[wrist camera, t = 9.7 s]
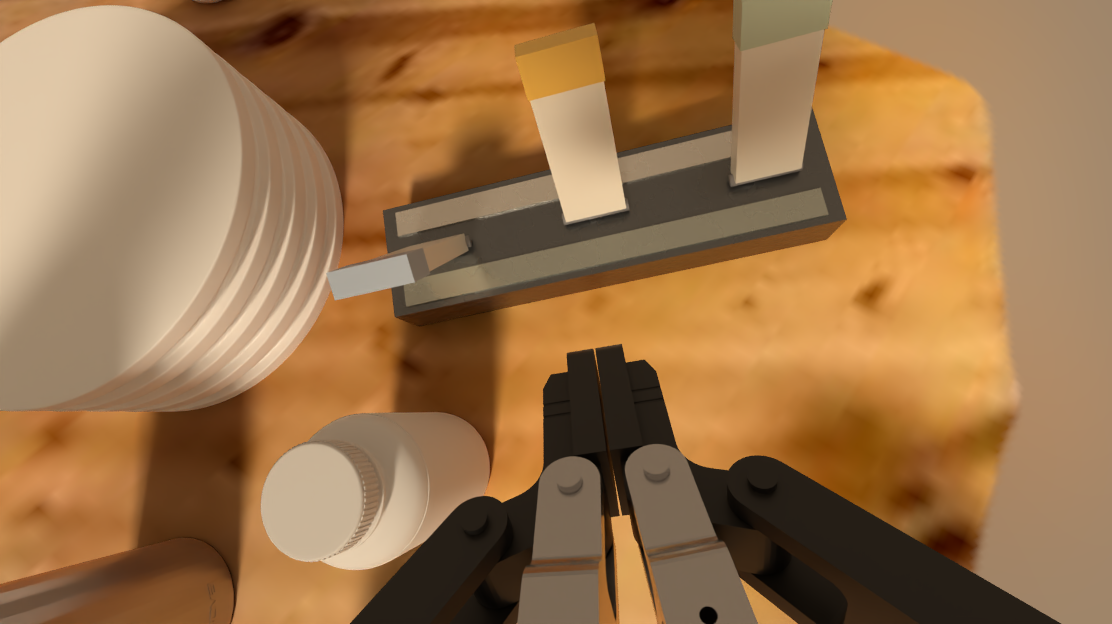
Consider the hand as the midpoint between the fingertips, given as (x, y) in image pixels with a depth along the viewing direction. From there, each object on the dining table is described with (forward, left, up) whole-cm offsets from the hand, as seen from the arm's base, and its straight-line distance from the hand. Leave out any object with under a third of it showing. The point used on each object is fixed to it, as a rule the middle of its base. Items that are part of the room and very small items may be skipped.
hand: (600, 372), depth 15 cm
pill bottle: (-14, -5, -24) cm, 28 cm away
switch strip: (-2, +12, -24) cm, 26 cm away
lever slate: (-13, +10, -19) cm, 25 cm away
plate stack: (-37, +13, -24) cm, 46 cm away
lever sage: (+9, +14, -19) cm, 25 cm away
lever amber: (-2, +12, -19) cm, 23 cm away
